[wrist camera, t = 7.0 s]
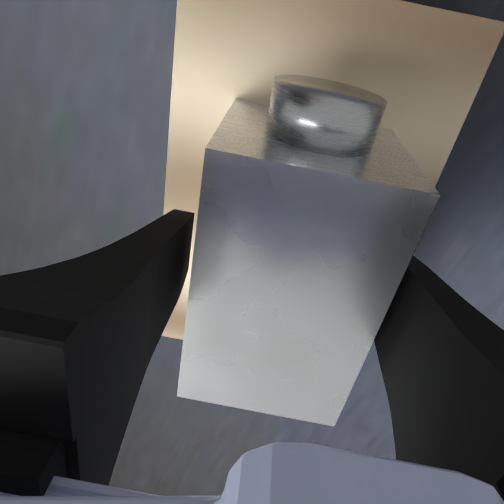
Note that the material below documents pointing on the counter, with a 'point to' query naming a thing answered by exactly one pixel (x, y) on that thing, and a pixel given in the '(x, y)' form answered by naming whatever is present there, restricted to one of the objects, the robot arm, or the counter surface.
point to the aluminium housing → (298, 248)
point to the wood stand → (320, 76)
